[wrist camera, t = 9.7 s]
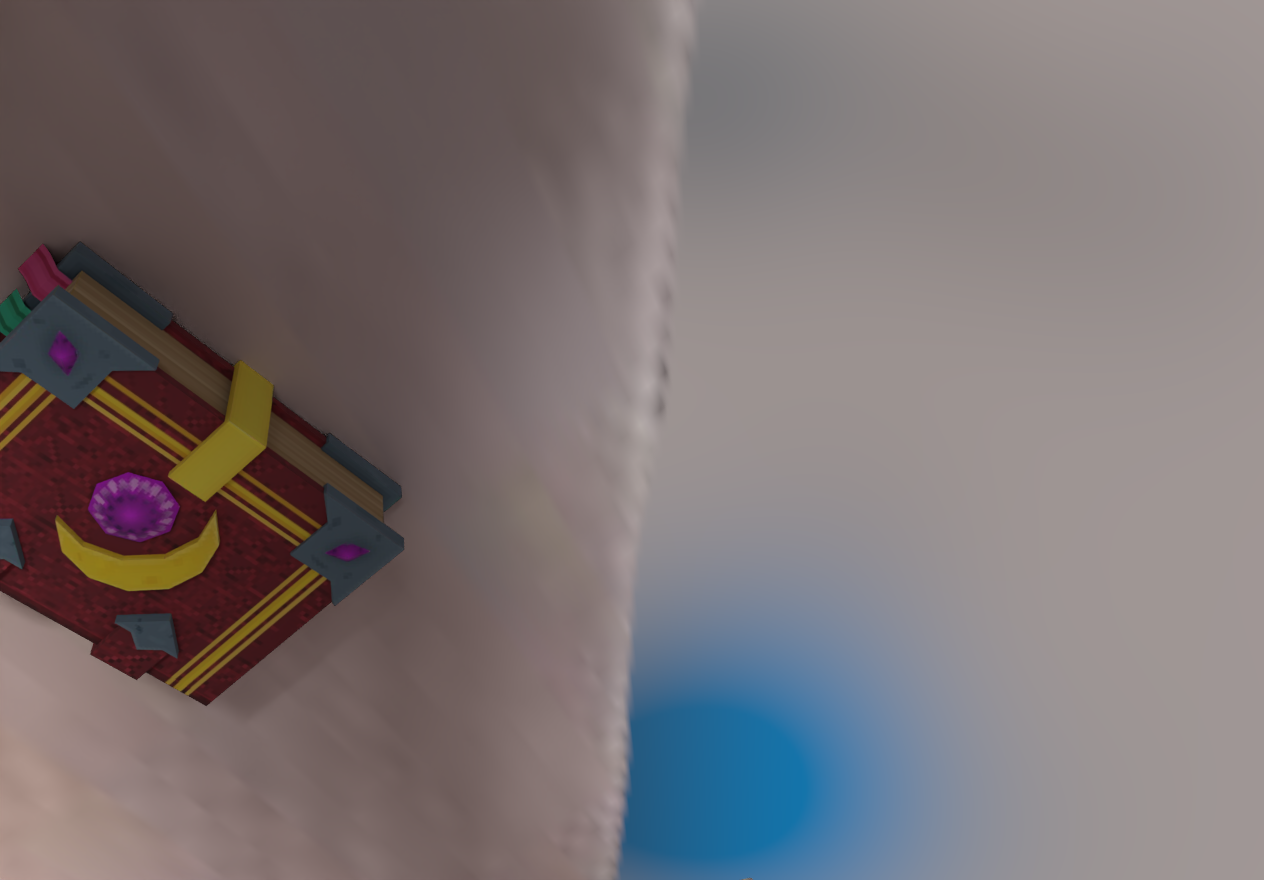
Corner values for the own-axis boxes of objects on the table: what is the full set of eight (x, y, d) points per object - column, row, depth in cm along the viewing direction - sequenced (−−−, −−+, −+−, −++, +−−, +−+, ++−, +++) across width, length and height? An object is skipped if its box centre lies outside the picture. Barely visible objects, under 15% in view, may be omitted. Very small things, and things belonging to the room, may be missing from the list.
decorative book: (216, 639, 50) (202, 724, 46) (-150, 420, 42) (-205, 501, 37) (403, 480, 47) (406, 556, 43) (54, 212, 39) (18, 275, 35)
